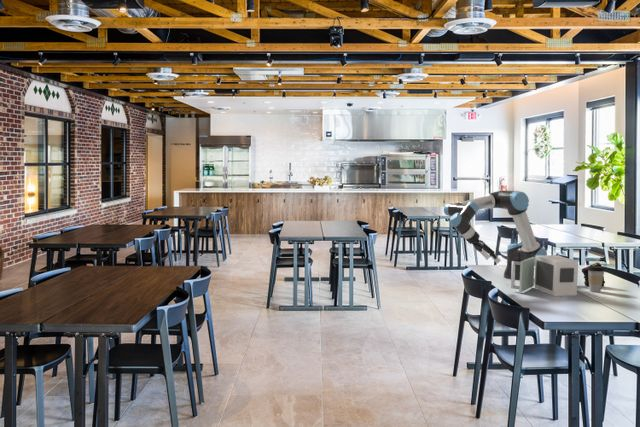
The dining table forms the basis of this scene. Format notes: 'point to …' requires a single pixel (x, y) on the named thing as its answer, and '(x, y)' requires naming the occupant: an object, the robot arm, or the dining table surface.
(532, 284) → the side door
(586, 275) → the dark bumpy flat shape
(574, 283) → the machine housing
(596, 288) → the coffee cup
